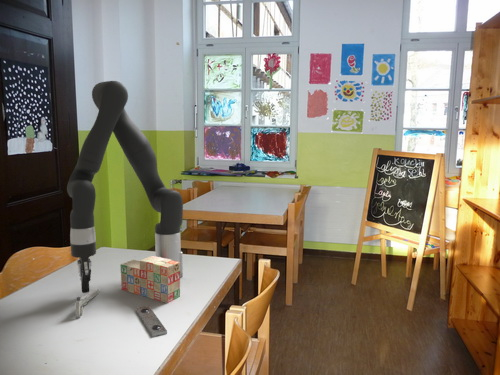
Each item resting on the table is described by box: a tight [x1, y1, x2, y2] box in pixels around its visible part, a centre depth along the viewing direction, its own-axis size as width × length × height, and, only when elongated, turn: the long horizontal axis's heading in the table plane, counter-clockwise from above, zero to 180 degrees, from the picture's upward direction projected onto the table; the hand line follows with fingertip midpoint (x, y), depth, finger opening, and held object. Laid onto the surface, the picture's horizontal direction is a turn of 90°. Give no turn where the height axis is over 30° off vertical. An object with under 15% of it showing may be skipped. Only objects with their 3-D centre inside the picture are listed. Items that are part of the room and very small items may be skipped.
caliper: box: [75, 289, 101, 319], centre depth 129 cm, size 20×1×6 cm, turn 4°
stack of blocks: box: [120, 255, 181, 304], centre depth 137 cm, size 21×6×12 cm, turn 60°
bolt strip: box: [135, 305, 168, 338], centre depth 118 cm, size 4×18×1 cm, turn 29°
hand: (85, 292), depth 133 cm, fingers closed
